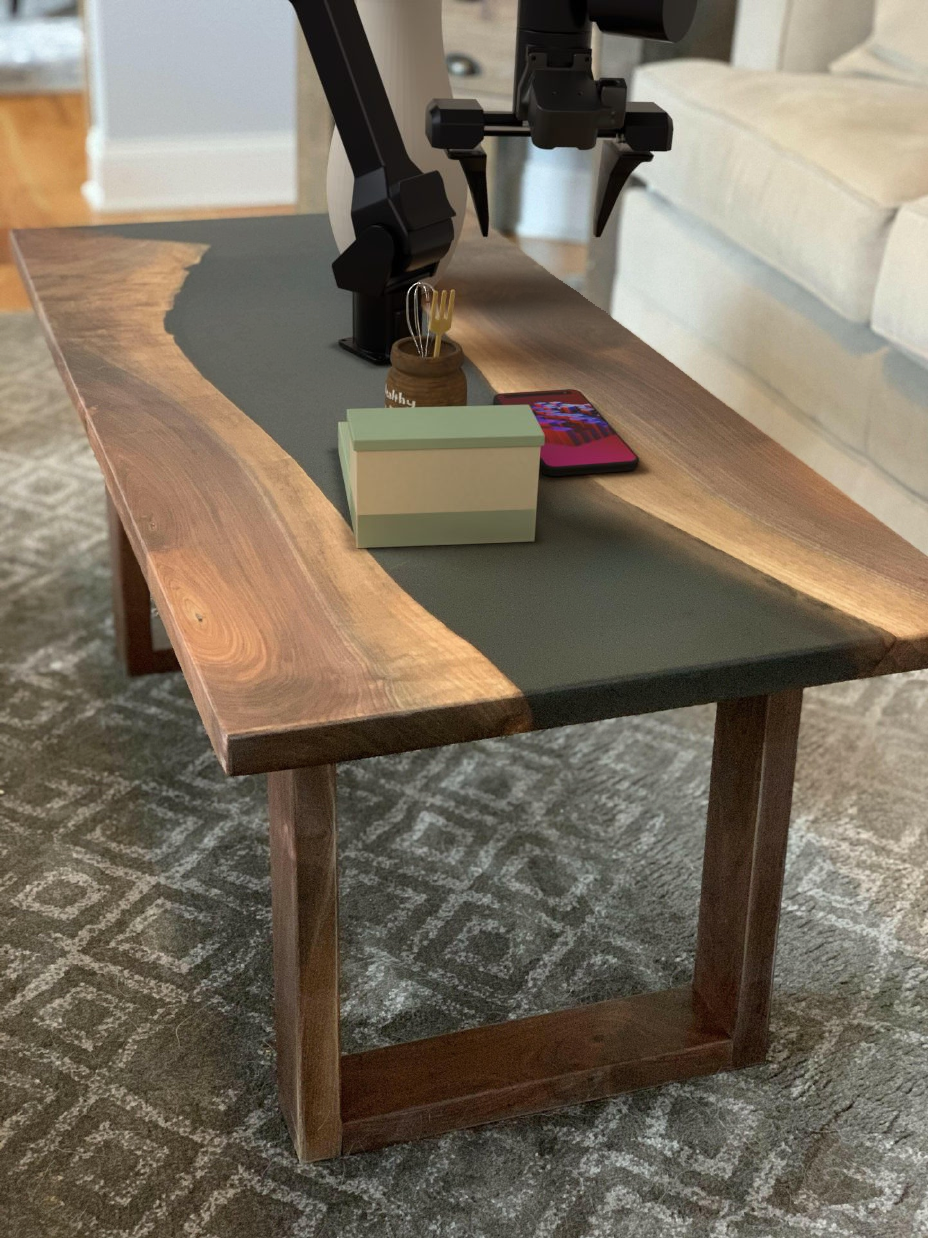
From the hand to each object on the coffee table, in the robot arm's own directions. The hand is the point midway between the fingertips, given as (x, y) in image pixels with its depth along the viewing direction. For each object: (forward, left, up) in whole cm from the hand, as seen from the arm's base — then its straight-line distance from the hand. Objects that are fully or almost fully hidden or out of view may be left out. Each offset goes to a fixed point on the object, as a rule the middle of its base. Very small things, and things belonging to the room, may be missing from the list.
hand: (541, 235), depth 114 cm
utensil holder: (+9, -18, -11) cm, 23 cm away
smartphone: (+10, -5, -13) cm, 17 cm away
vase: (-28, +6, -13) cm, 32 cm away
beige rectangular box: (+13, -20, -13) cm, 27 cm away
